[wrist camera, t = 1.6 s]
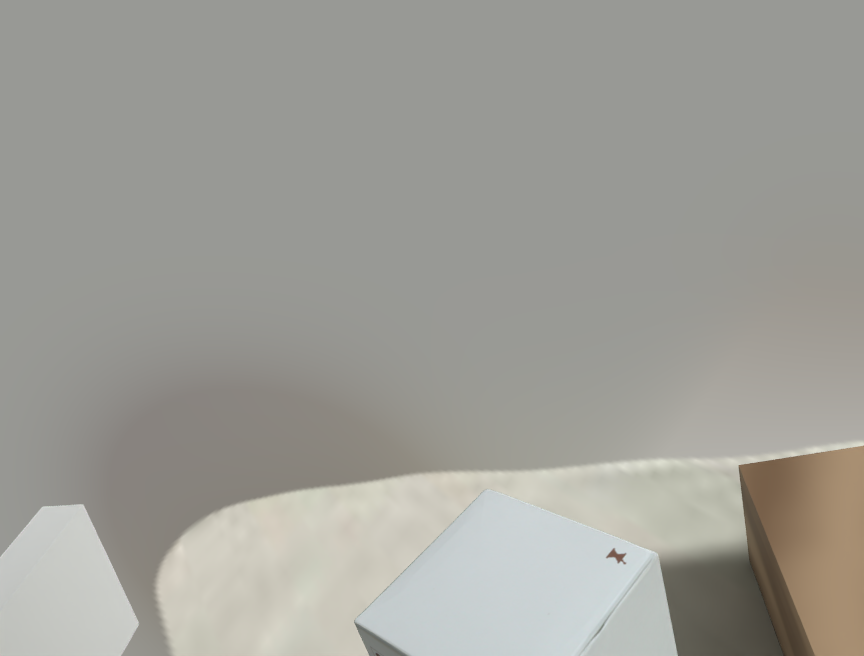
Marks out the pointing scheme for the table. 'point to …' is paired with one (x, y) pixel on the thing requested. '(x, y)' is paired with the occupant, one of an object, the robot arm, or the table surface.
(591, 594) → the supplement box
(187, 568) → the table surface
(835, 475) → the shelf
